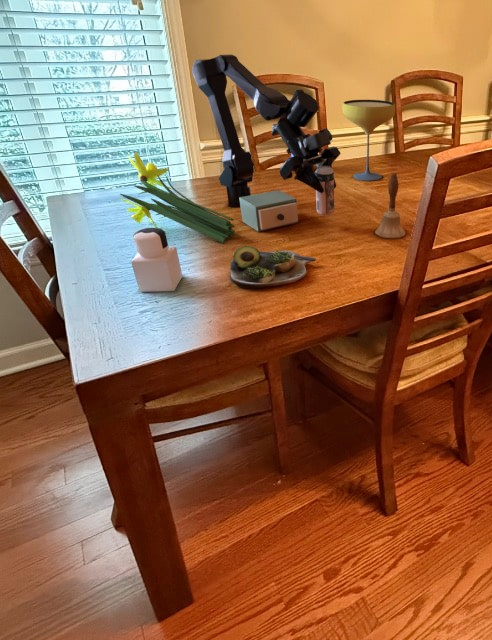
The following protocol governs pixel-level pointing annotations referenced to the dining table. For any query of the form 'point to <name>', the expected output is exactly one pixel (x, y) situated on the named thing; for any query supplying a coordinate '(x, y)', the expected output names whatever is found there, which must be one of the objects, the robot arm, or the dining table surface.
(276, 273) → the avocado toast plate
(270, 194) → the drawer box
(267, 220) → the drawer
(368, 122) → the cocktail glass
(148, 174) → the daffodil flowers
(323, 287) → the dining table surface
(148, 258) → the pink block figurine
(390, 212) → the hand bell
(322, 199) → the beer can
